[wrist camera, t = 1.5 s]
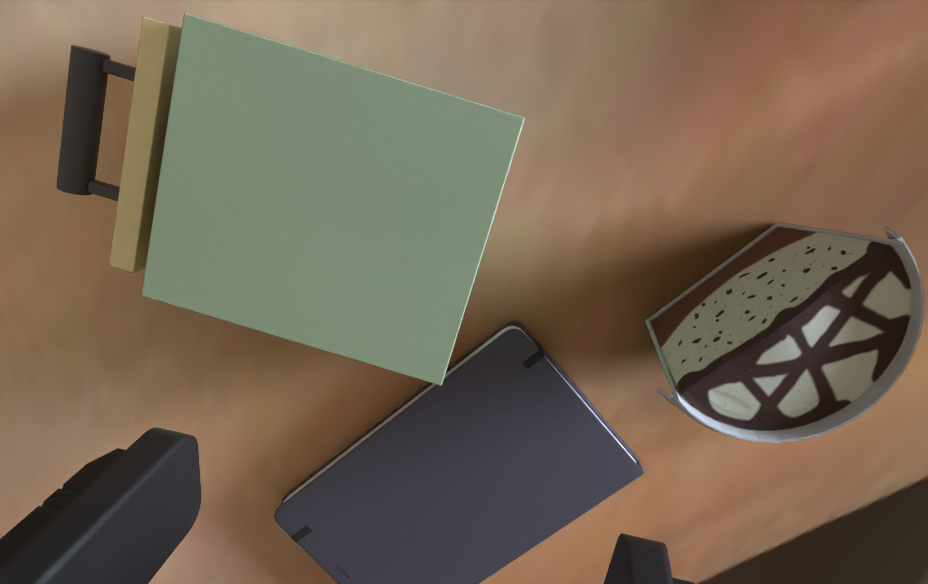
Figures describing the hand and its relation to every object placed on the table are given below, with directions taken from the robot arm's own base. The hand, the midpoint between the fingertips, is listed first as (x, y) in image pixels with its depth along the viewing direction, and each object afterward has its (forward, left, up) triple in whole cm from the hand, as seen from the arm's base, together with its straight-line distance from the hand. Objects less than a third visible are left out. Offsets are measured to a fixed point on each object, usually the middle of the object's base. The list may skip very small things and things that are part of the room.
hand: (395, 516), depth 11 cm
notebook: (+15, -5, -26) cm, 31 cm away
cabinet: (-5, -5, -26) cm, 27 cm away
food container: (+7, +15, -26) cm, 31 cm away
